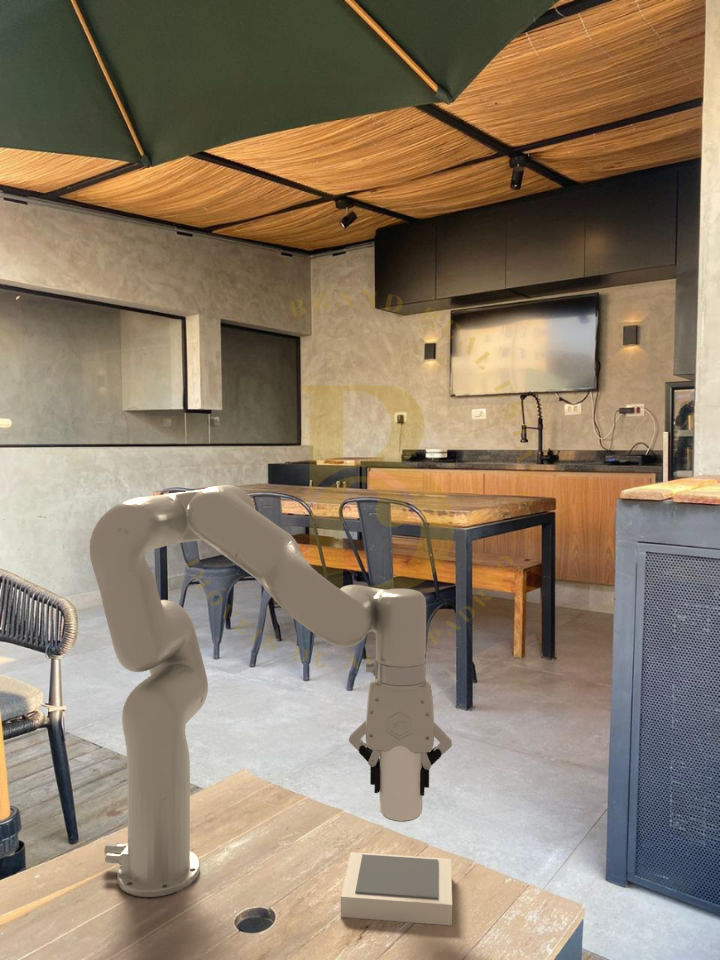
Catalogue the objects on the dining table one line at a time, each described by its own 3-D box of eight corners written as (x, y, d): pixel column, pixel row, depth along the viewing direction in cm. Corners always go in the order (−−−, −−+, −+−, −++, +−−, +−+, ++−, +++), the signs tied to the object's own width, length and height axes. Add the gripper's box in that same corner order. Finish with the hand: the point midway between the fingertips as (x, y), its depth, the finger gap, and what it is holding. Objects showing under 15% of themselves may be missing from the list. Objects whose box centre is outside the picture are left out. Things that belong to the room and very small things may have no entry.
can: (419, 825, 107) (420, 743, 106) (376, 820, 108) (376, 740, 108) (424, 804, 113) (425, 727, 113) (383, 800, 114) (383, 724, 114)
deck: (340, 916, 106) (340, 894, 106) (350, 870, 118) (350, 850, 118) (451, 925, 104) (452, 902, 104) (450, 877, 116) (450, 856, 116)
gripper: (340, 677, 107) (339, 798, 108) (459, 682, 105) (458, 805, 106) (346, 663, 114) (346, 776, 115) (457, 667, 113) (456, 782, 113)
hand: (399, 789), depth 110 cm, fingers closed on can, 6 cm apart
